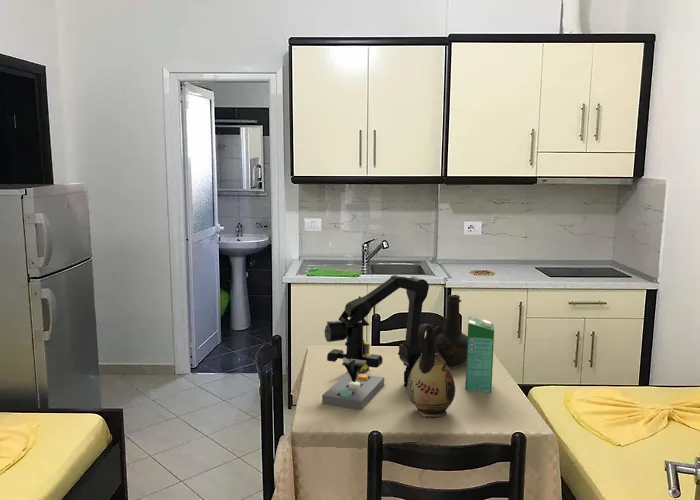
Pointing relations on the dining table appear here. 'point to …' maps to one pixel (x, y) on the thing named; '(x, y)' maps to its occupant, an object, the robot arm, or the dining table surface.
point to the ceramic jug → (430, 376)
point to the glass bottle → (452, 336)
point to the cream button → (354, 385)
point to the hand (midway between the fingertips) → (354, 381)
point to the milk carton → (479, 355)
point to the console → (353, 392)
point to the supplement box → (365, 364)
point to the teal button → (346, 393)
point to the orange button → (362, 377)
